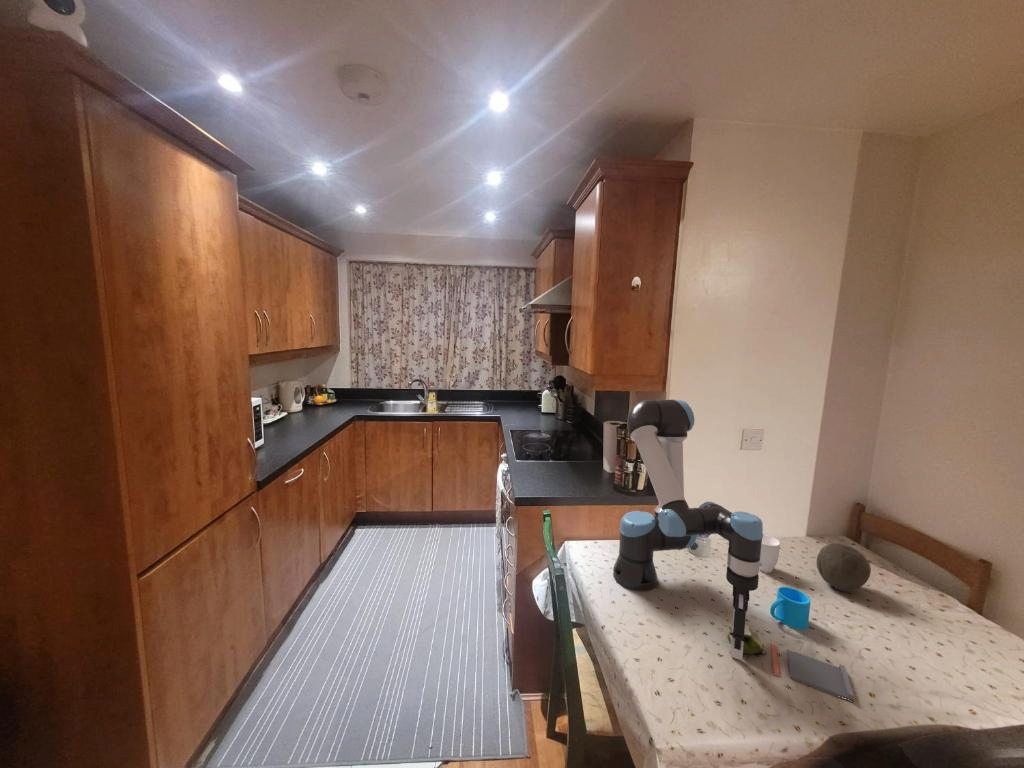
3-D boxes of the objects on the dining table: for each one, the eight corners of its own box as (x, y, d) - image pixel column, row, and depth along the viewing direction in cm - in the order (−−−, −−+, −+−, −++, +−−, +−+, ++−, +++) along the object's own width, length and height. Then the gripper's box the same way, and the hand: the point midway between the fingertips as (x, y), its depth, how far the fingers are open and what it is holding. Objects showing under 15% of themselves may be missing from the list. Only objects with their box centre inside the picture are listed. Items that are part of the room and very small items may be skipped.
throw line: (773, 674, 96) (773, 673, 96) (771, 643, 107) (771, 642, 107) (779, 677, 96) (779, 675, 96) (776, 645, 106) (776, 644, 106)
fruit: (753, 670, 99) (749, 642, 98) (720, 647, 108) (716, 622, 107) (774, 652, 103) (770, 625, 102) (740, 631, 111) (737, 607, 111)
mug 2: (790, 609, 121) (792, 585, 120) (814, 627, 113) (817, 602, 112) (758, 613, 119) (760, 589, 118) (781, 633, 111) (784, 607, 110)
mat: (790, 678, 95) (791, 672, 95) (786, 651, 104) (787, 645, 104) (853, 702, 89) (854, 695, 89) (843, 672, 98) (844, 665, 97)
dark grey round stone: (864, 606, 123) (870, 563, 122) (810, 585, 134) (814, 545, 132) (870, 588, 132) (875, 548, 131) (819, 570, 143) (823, 532, 141)
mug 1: (783, 572, 141) (785, 542, 139) (766, 578, 138) (768, 547, 136) (753, 556, 152) (755, 528, 150) (737, 560, 149) (739, 532, 147)
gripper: (760, 597, 92) (753, 680, 94) (757, 555, 111) (751, 624, 113) (725, 586, 96) (719, 666, 98) (728, 547, 115) (723, 615, 117)
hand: (736, 644), depth 106 cm, fingers closed on fruit, 10 cm apart
